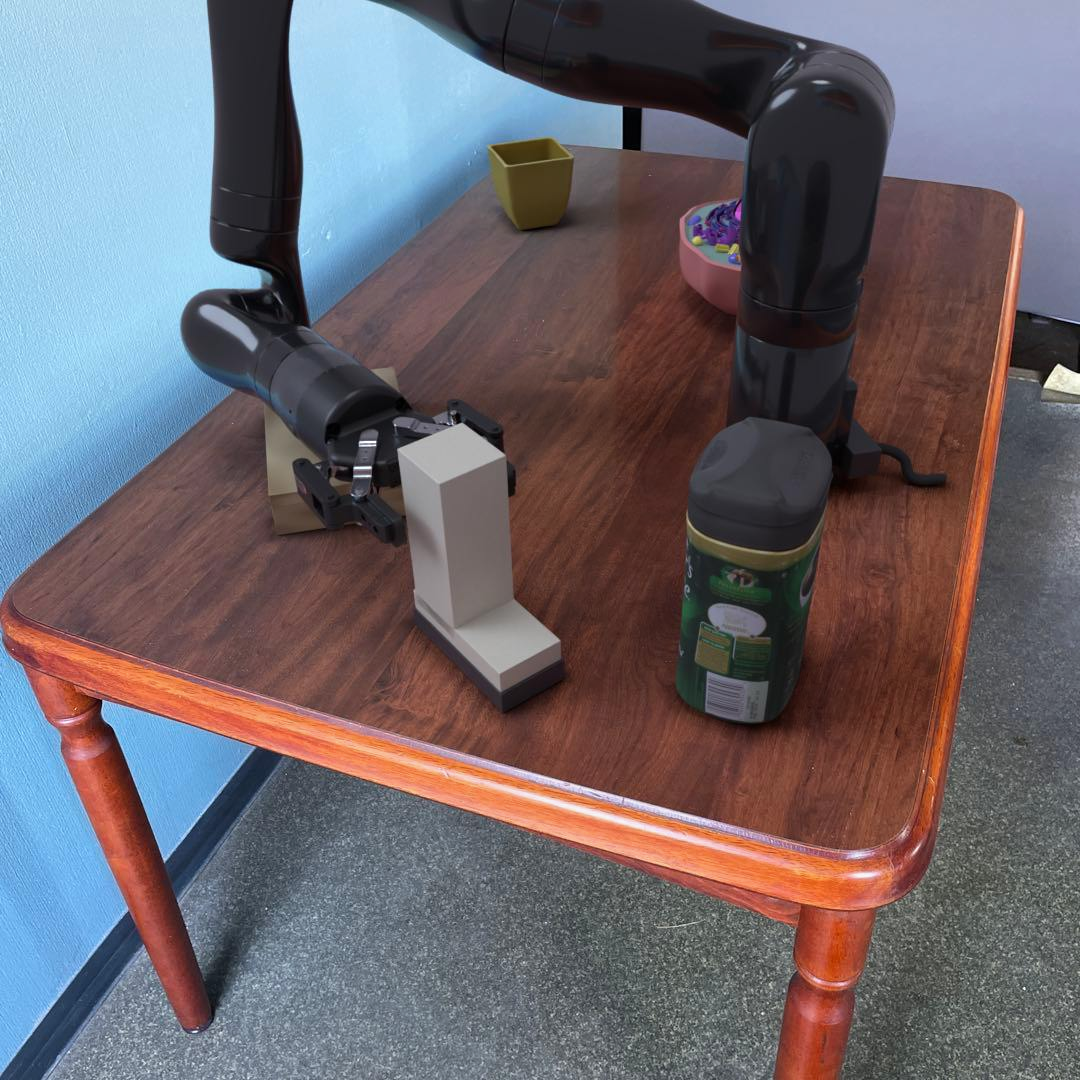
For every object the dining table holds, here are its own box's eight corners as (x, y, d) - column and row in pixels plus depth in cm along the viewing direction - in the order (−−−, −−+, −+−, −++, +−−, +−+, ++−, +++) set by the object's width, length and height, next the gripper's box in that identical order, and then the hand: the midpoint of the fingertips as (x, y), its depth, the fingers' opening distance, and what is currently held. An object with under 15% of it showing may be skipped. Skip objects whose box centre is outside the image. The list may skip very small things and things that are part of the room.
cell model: (652, 334, 112) (657, 229, 105) (694, 257, 127) (700, 161, 120) (817, 355, 108) (833, 248, 101) (840, 273, 122) (855, 174, 115)
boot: (415, 624, 78) (391, 445, 68) (474, 595, 80) (459, 418, 71) (502, 713, 71) (489, 528, 61) (564, 678, 73) (561, 494, 64)
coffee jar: (701, 617, 78) (721, 395, 66) (810, 646, 75) (850, 419, 64) (658, 710, 71) (672, 479, 59) (777, 744, 68) (816, 510, 57)
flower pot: (490, 214, 139) (486, 143, 133) (554, 204, 141) (552, 135, 135) (508, 239, 132) (505, 166, 127) (575, 229, 134) (575, 157, 129)
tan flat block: (398, 403, 102) (393, 366, 100) (424, 512, 89) (420, 473, 86) (270, 420, 101) (262, 383, 98) (277, 535, 87) (268, 495, 84)
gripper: (241, 397, 75) (355, 504, 65) (415, 335, 82) (543, 424, 71) (261, 484, 80) (370, 597, 69) (424, 420, 86) (546, 514, 76)
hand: (458, 509), depth 70 cm, fingers open, 8 cm apart
